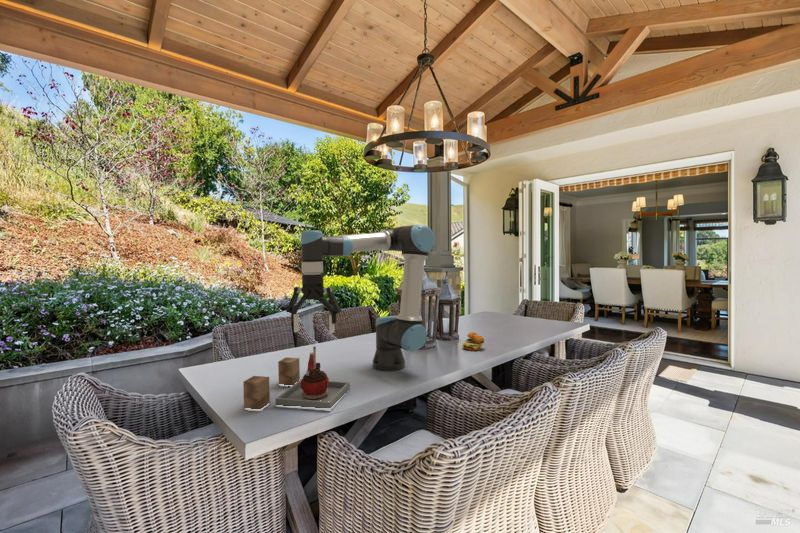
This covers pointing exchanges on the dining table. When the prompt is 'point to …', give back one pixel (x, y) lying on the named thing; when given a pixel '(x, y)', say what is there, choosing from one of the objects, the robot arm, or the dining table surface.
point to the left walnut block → (256, 392)
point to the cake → (314, 379)
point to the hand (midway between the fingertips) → (314, 332)
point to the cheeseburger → (473, 342)
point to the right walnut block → (289, 371)
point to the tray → (296, 399)
